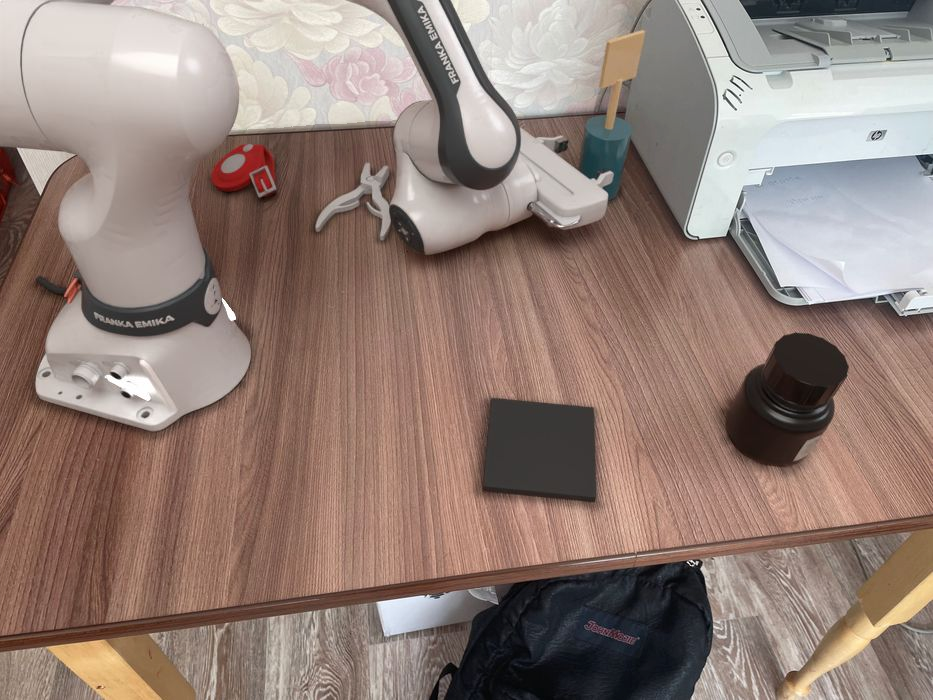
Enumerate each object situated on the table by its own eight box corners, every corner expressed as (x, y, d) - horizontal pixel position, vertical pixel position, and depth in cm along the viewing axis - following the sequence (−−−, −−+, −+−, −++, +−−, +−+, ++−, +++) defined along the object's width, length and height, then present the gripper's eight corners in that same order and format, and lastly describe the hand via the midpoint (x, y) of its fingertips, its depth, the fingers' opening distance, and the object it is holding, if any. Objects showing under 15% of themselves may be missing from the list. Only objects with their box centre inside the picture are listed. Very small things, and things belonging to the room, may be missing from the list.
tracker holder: (195, 183, 100) (227, 133, 105) (212, 204, 104) (243, 155, 108) (263, 186, 96) (294, 134, 100) (279, 209, 99) (308, 157, 104)
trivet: (482, 491, 70) (483, 486, 69) (491, 403, 77) (491, 397, 76) (594, 502, 69) (596, 497, 68) (592, 412, 76) (593, 407, 76)
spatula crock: (594, 206, 101) (625, 52, 84) (566, 184, 104) (589, 31, 88) (627, 192, 104) (663, 39, 87) (598, 171, 107) (627, 20, 90)
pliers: (312, 221, 94) (344, 159, 104) (314, 231, 96) (345, 169, 106) (384, 231, 94) (410, 167, 103) (385, 240, 95) (410, 177, 105)
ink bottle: (817, 478, 72) (870, 406, 63) (728, 464, 72) (768, 391, 63) (803, 403, 78) (849, 328, 69) (721, 391, 79) (757, 315, 70)
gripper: (560, 211, 85) (643, 175, 90) (464, 133, 96) (543, 105, 101) (554, 251, 90) (633, 215, 95) (463, 172, 101) (539, 144, 106)
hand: (586, 158), depth 98 cm, fingers open, 8 cm apart
